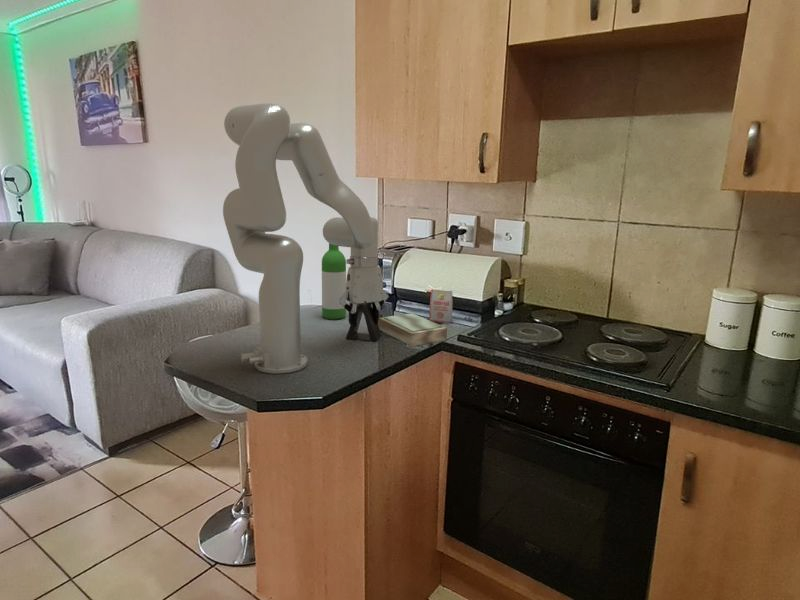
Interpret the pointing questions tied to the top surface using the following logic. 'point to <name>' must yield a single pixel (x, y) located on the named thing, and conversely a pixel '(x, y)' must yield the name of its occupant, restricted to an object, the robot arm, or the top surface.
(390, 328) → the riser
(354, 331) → the dark brown arched piece
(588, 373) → the top surface
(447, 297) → the small printed carton
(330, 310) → the wine bottle
